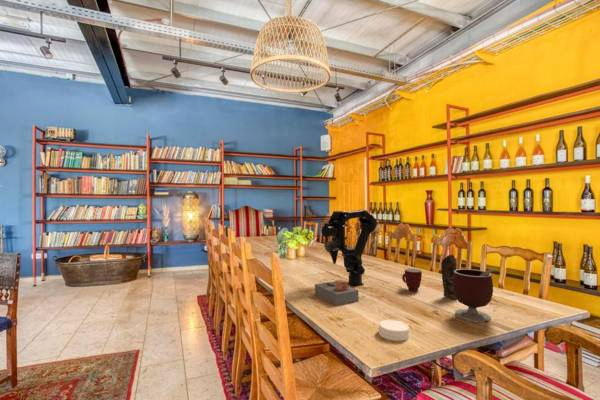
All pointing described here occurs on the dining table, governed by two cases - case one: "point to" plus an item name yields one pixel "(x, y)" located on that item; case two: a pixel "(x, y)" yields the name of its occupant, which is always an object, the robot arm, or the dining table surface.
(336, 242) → the robot arm
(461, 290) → the mate gourd
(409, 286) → the mug
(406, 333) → the coaster
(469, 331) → the dining table surface
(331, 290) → the socket board
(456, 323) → the dining table surface
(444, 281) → the statue
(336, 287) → the peg
